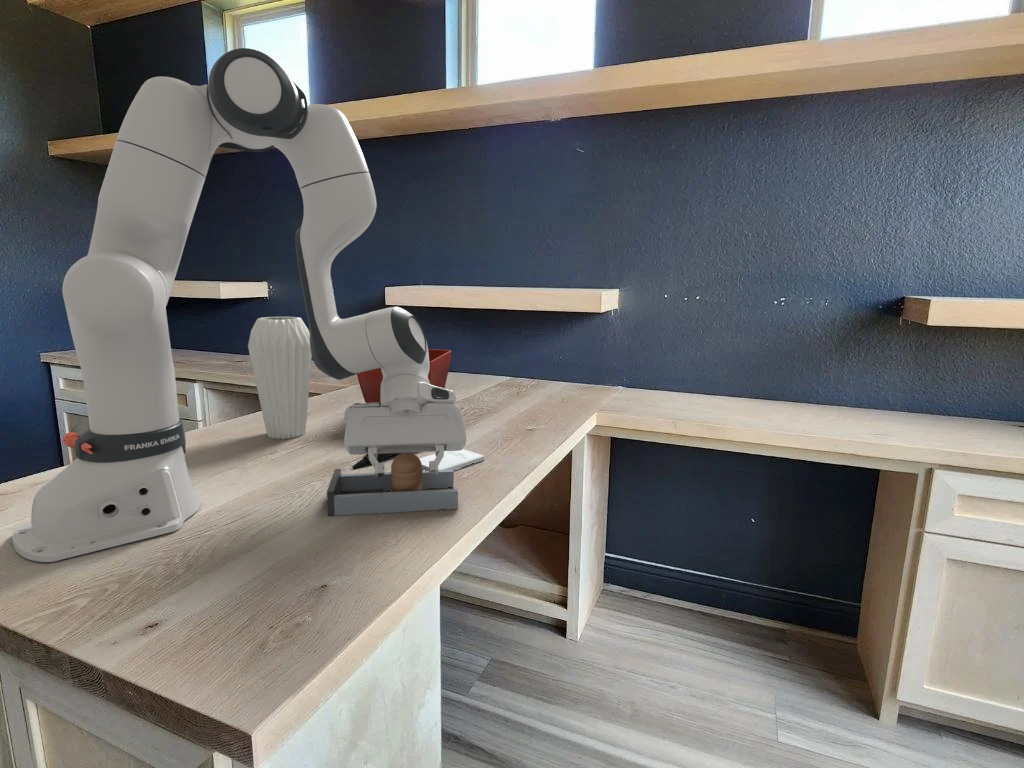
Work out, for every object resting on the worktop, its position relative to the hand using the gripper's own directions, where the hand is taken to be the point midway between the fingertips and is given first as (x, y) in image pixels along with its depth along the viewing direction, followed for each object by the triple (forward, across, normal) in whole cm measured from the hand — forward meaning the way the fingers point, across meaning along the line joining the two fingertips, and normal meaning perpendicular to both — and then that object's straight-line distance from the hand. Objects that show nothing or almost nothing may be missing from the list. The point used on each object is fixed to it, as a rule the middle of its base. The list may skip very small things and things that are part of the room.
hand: (406, 474), depth 92 cm
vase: (-26, -27, +33) cm, 50 cm away
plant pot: (-34, 0, +40) cm, 53 cm away
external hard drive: (-9, +8, +16) cm, 20 cm away
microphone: (-14, -4, +21) cm, 25 cm away
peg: (+3, 0, +4) cm, 5 cm away
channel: (+3, -2, +4) cm, 5 cm away
